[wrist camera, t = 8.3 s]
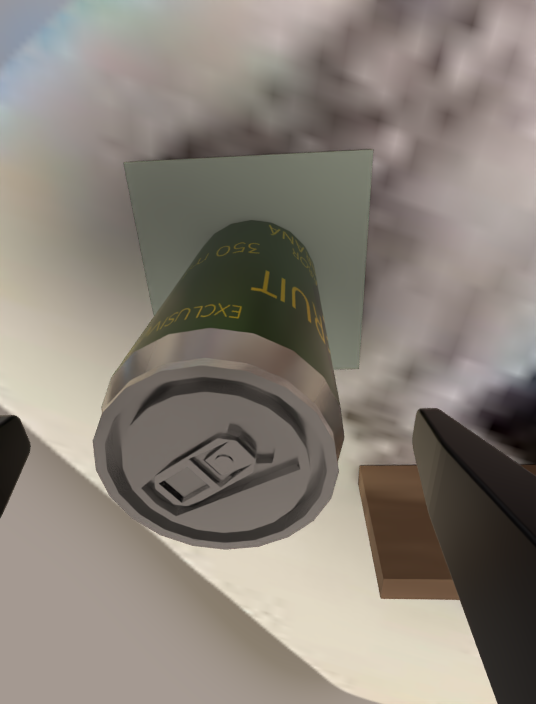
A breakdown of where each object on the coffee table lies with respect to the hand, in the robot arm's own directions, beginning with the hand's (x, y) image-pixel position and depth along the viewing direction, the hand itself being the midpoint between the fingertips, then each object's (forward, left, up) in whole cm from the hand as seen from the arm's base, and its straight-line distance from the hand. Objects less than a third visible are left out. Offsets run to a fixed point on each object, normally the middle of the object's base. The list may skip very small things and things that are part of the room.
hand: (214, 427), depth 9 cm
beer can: (0, 0, -11) cm, 11 cm away
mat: (0, 0, -11) cm, 11 cm away
